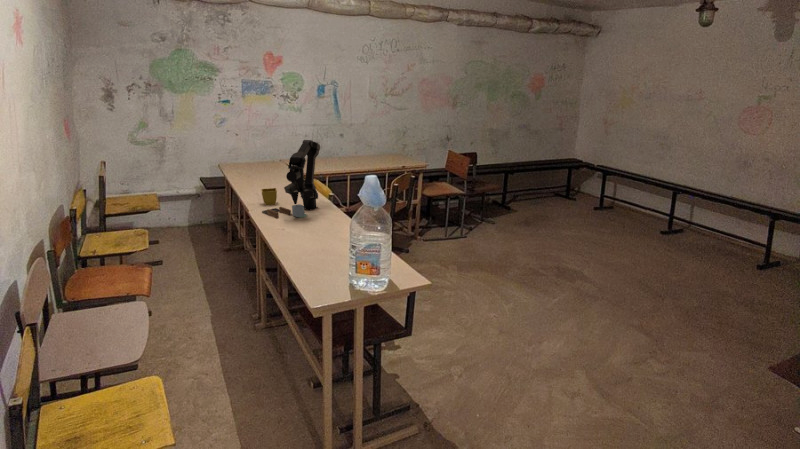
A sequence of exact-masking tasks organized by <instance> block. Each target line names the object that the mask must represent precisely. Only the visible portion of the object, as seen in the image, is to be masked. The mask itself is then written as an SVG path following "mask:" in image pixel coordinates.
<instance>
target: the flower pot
mask: <svg viewBox="0 0 800 449" xmlns="http://www.w3.org/2000/svg"><path fill="white" fill-rule="evenodd" d="M277 192H278V191H277V188H276V187H270V188H262V189H261V196H262V201H263V203H264V205H265V206H273V205H276V203H277V199H278V198H277V196H278V194H277Z"/></svg>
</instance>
